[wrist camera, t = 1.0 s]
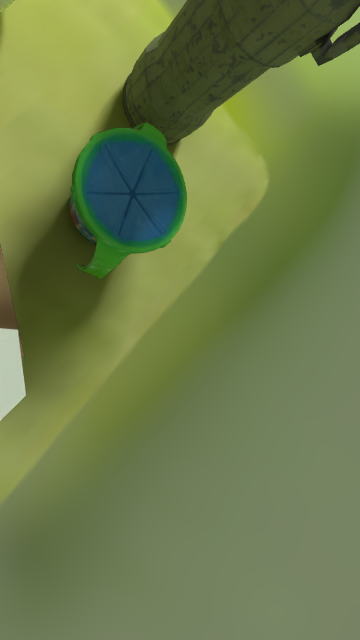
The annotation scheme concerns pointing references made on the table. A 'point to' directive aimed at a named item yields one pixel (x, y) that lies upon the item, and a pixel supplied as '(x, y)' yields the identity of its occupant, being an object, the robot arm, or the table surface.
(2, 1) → the lidded bowl
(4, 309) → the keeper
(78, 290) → the table surface
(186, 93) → the thermos
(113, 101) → the table surface
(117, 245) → the snack cup
